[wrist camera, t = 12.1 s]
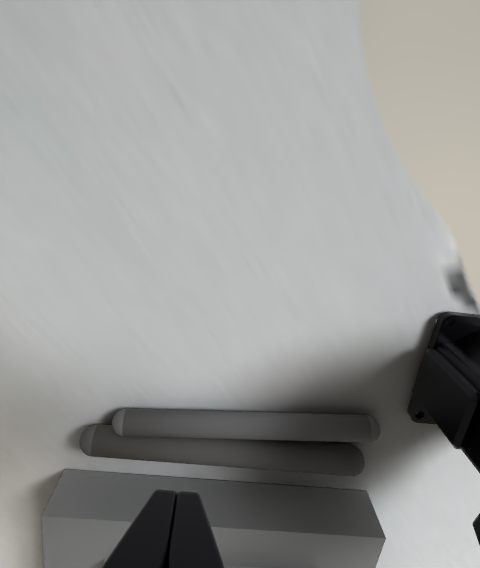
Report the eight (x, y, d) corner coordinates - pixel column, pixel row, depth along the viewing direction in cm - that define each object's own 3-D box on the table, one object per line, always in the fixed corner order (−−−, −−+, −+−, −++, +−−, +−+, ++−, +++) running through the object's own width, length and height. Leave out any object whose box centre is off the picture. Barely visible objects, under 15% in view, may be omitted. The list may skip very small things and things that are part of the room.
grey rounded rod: (362, 439, 22) (372, 461, 21) (355, 461, 23) (365, 483, 21) (85, 416, 21) (74, 437, 19) (85, 440, 22) (75, 462, 20)
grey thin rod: (376, 410, 21) (386, 427, 20) (372, 430, 22) (381, 448, 21) (115, 402, 21) (107, 419, 19) (116, 423, 21) (109, 441, 20)
